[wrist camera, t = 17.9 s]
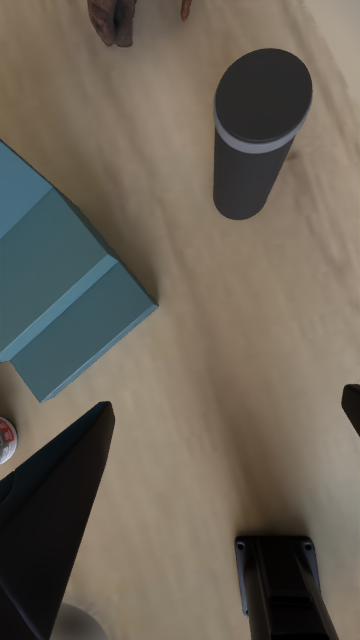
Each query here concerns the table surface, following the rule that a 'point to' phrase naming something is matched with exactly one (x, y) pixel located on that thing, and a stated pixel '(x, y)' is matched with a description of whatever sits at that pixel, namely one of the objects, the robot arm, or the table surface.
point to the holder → (256, 127)
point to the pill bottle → (7, 440)
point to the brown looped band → (118, 19)
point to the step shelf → (57, 283)
